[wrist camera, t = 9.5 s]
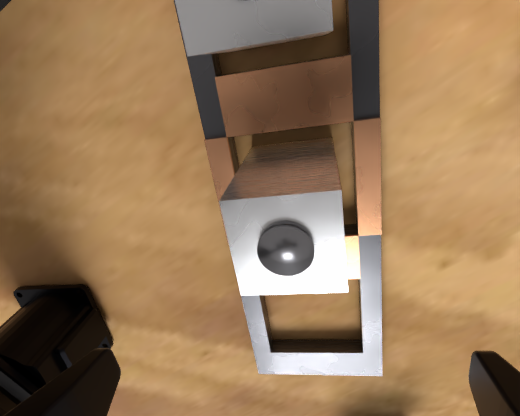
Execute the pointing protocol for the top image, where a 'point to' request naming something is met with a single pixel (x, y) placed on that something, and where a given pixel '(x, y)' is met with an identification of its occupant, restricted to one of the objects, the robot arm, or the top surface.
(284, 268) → the knobbed block
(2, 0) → the tray
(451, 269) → the top surface
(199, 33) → the grey metal block
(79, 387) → the robot arm
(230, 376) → the top surface
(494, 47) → the top surface
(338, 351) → the rail
